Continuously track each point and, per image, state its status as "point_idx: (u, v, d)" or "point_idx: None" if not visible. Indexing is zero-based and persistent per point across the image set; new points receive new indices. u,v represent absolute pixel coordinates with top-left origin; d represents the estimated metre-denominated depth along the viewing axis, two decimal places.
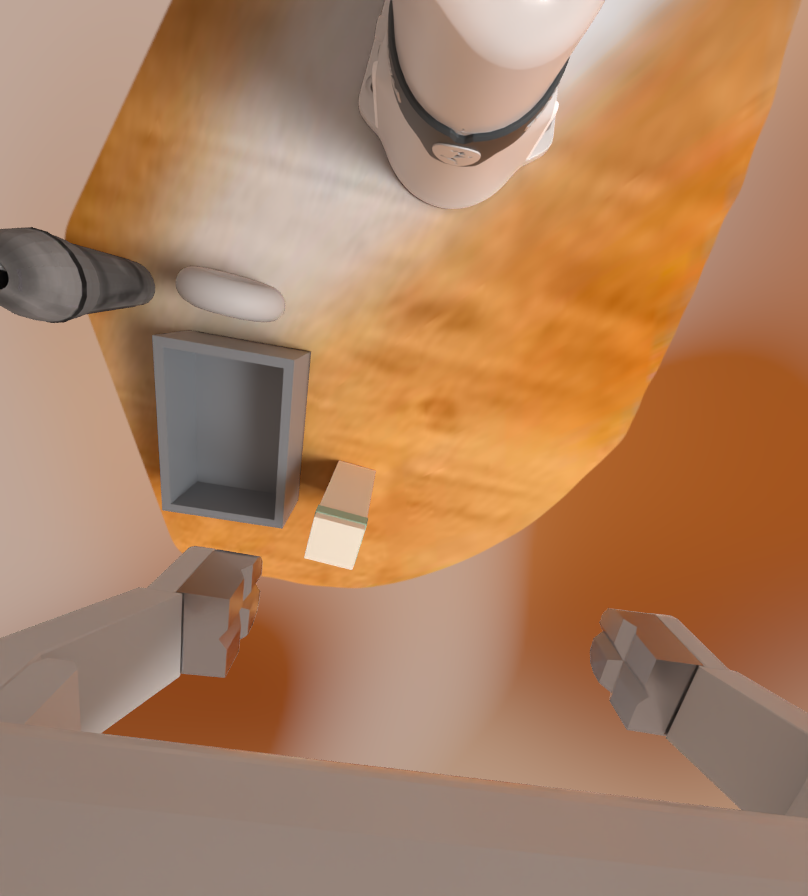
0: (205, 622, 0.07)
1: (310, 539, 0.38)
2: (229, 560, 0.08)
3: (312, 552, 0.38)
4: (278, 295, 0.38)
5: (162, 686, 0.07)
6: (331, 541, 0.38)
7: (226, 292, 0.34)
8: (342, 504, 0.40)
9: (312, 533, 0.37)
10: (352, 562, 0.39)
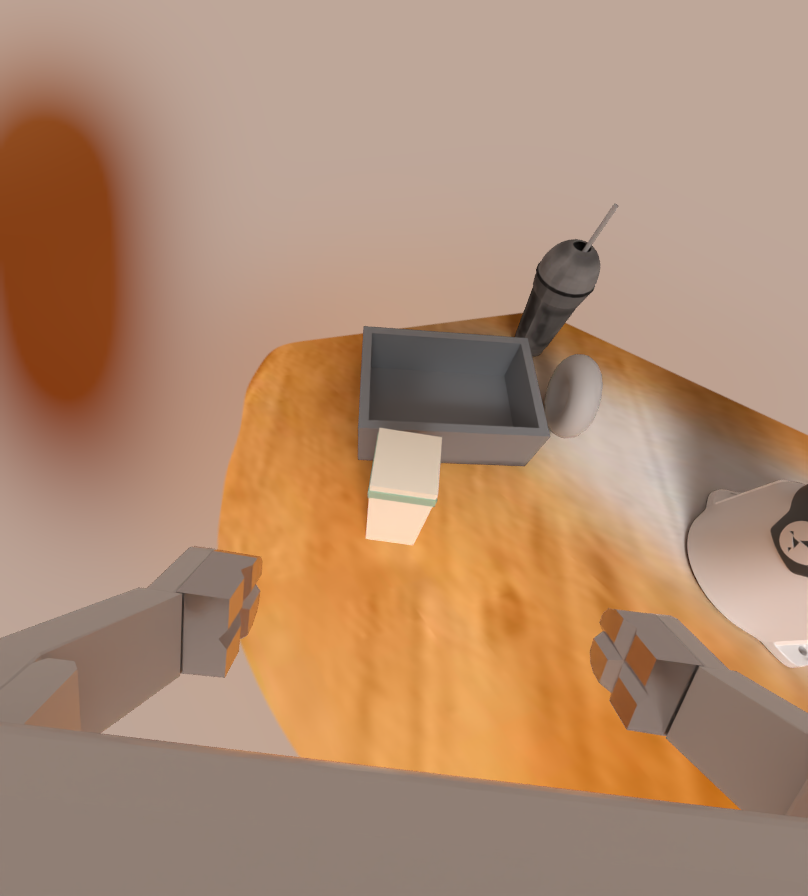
0: (205, 622, 0.07)
1: (408, 433, 0.30)
2: (229, 560, 0.08)
3: (389, 436, 0.30)
4: (587, 427, 0.43)
5: (162, 686, 0.07)
6: (411, 457, 0.29)
7: (598, 381, 0.41)
8: None
9: (418, 435, 0.30)
10: (382, 484, 0.28)
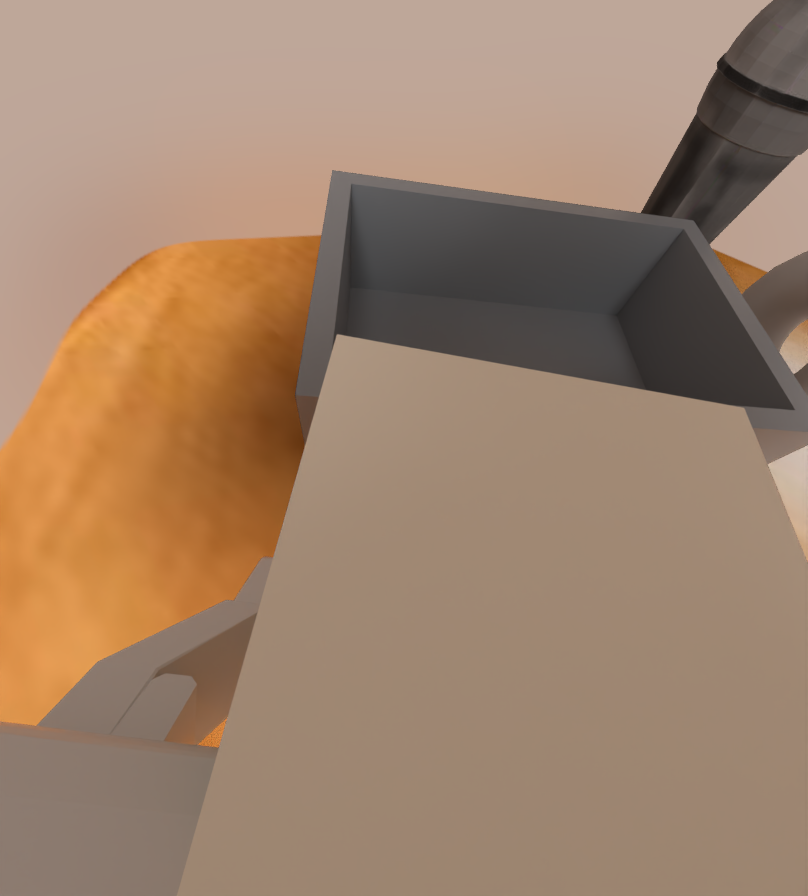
0: None
1: (535, 380, 0.04)
2: None
3: (408, 393, 0.04)
4: None
5: None
6: (589, 561, 0.03)
7: None
8: None
9: (597, 394, 0.04)
10: None
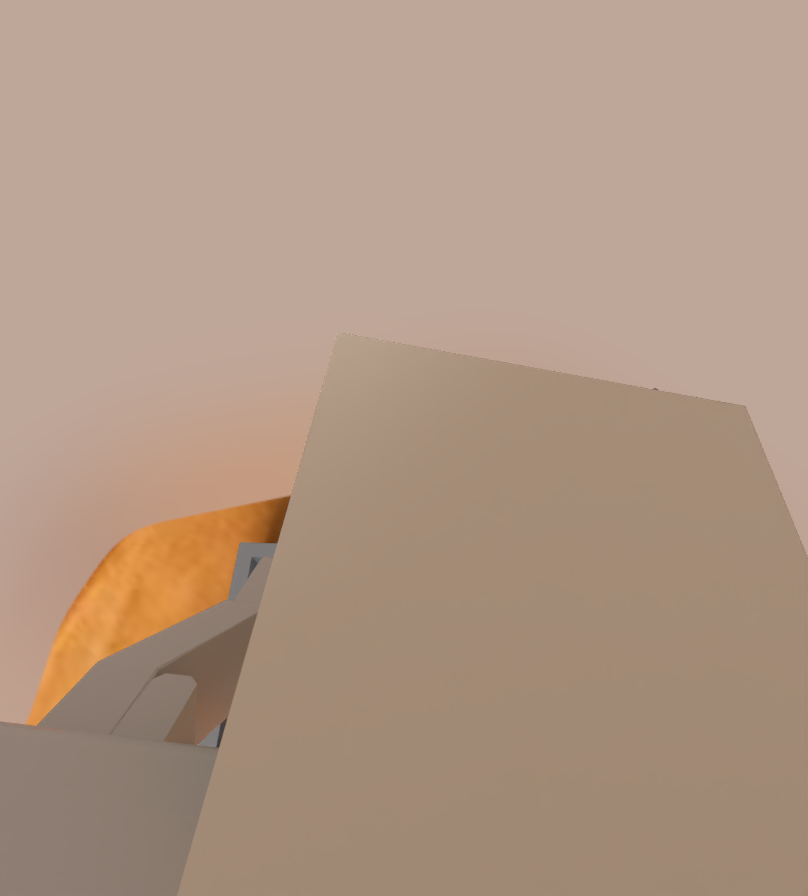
0: None
1: (536, 378, 0.04)
2: None
3: (409, 391, 0.04)
4: None
5: None
6: (591, 559, 0.03)
7: None
8: None
9: (599, 393, 0.04)
10: None
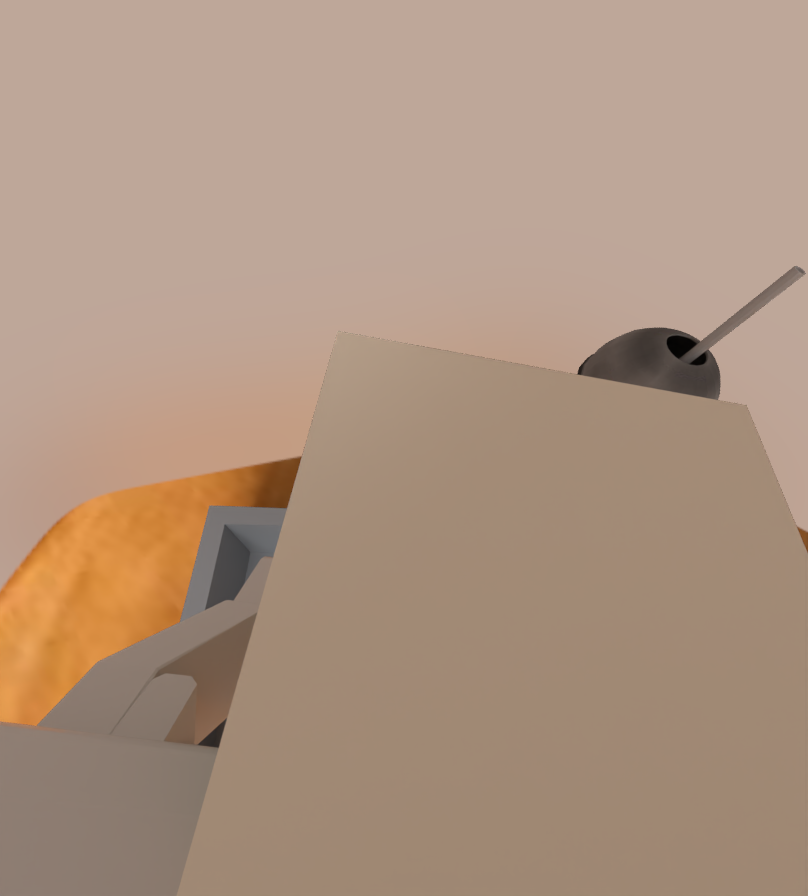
0: None
1: (537, 376, 0.04)
2: None
3: (409, 389, 0.04)
4: None
5: None
6: (592, 558, 0.03)
7: None
8: None
9: (600, 391, 0.04)
10: None
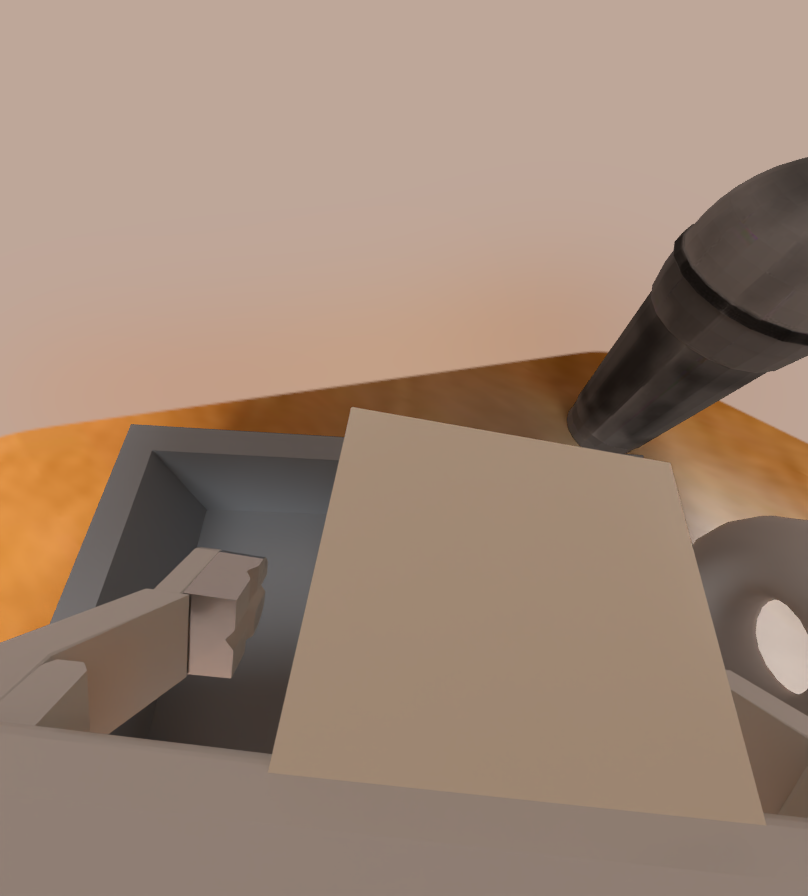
0: (212, 623, 0.07)
1: (505, 442, 0.06)
2: (235, 561, 0.08)
3: (406, 456, 0.05)
4: None
5: (169, 687, 0.07)
6: (539, 588, 0.05)
7: None
8: None
9: (554, 454, 0.06)
10: None
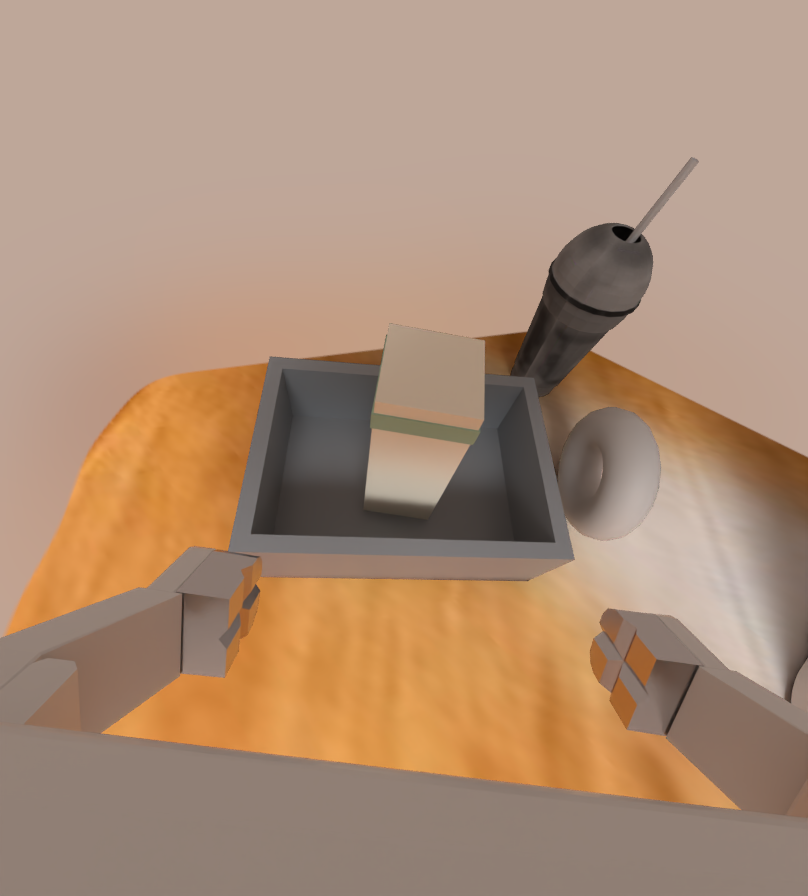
0: (205, 622, 0.07)
1: (434, 333, 0.20)
2: (229, 560, 0.08)
3: (405, 335, 0.19)
4: None
5: (162, 686, 0.07)
6: (439, 364, 0.19)
7: (655, 460, 0.24)
8: None
9: (448, 336, 0.20)
10: (395, 401, 0.17)
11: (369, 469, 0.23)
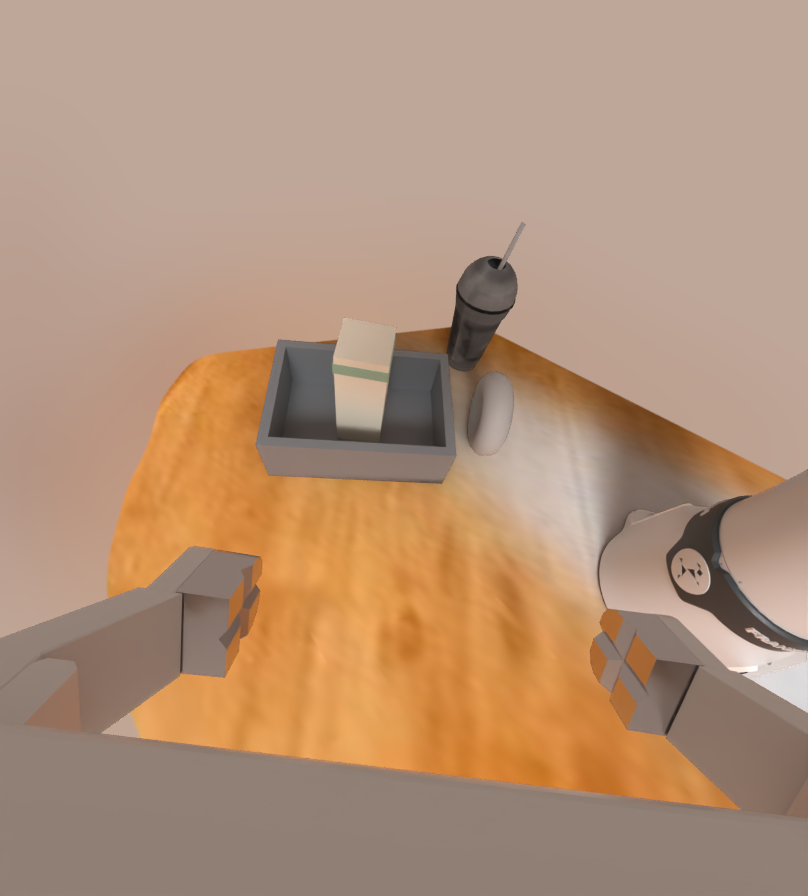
0: (205, 622, 0.07)
1: (368, 323, 0.36)
2: (229, 560, 0.08)
3: (352, 324, 0.36)
4: (500, 446, 0.43)
5: (162, 686, 0.07)
6: (369, 339, 0.35)
7: (508, 400, 0.40)
8: None
9: (376, 324, 0.36)
10: (343, 357, 0.34)
11: (336, 403, 0.39)
